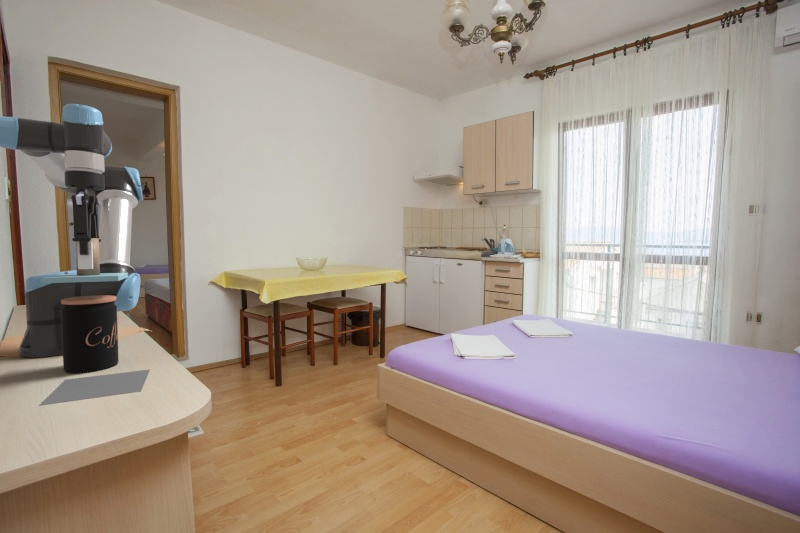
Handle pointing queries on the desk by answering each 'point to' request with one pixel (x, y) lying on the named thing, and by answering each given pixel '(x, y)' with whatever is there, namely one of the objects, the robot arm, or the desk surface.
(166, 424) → the desk surface
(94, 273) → the lid
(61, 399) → the mat
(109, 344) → the coffee jar
